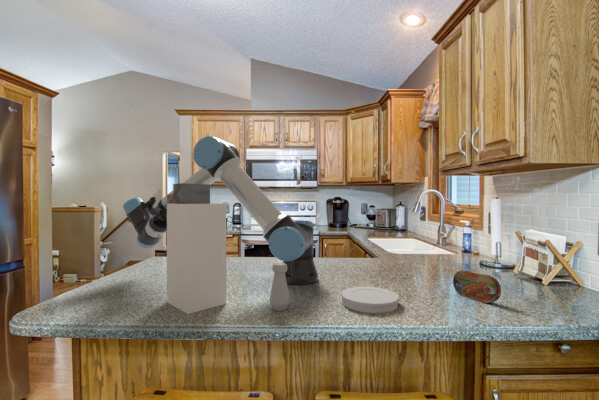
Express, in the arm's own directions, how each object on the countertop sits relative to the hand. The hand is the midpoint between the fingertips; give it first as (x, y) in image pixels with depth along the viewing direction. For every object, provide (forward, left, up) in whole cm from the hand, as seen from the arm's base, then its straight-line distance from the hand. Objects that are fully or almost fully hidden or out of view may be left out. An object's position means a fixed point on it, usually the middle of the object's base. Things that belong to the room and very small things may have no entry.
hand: (181, 193), depth 102 cm
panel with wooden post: (-1, +1, -3) cm, 3 cm away
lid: (-59, +11, -34) cm, 68 cm away
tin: (-94, +11, -33) cm, 100 cm away
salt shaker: (-32, +15, -33) cm, 48 cm away
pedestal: (-7, +8, -33) cm, 35 cm away
